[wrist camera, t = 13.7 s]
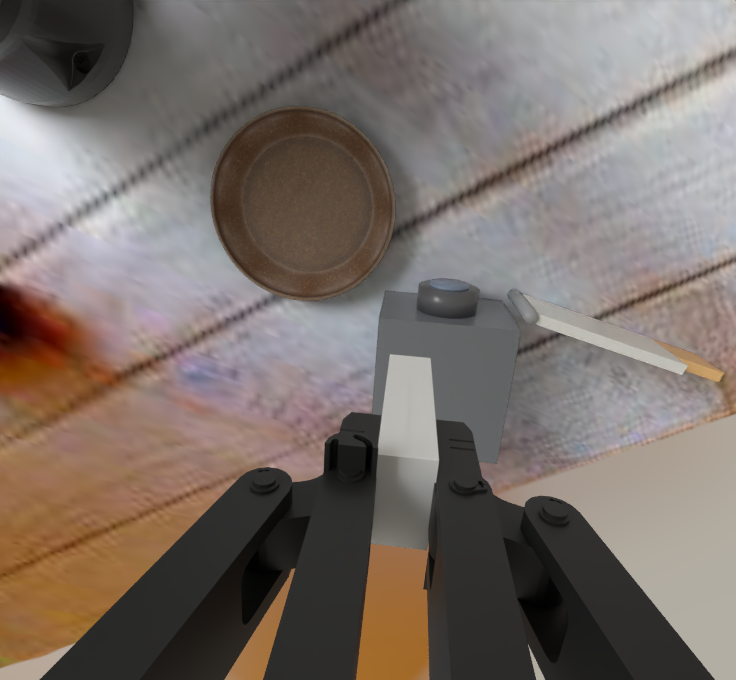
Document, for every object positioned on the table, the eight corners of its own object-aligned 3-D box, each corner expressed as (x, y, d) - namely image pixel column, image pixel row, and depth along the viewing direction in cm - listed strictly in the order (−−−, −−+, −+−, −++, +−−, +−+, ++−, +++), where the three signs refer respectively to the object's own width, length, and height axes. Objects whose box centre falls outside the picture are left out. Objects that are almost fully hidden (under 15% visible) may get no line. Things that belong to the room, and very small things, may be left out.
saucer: (271, 317, 44) (262, 326, 41) (190, 157, 40) (175, 157, 37) (423, 255, 41) (423, 261, 38) (352, 75, 37) (348, 69, 34)
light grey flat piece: (505, 298, 41) (522, 322, 35) (510, 287, 41) (528, 309, 34) (685, 360, 41) (733, 394, 35) (692, 350, 41) (741, 383, 35)
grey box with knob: (387, 266, 41) (380, 291, 33) (505, 276, 40) (528, 304, 32) (376, 406, 46) (368, 458, 38) (482, 416, 45) (497, 472, 37)
